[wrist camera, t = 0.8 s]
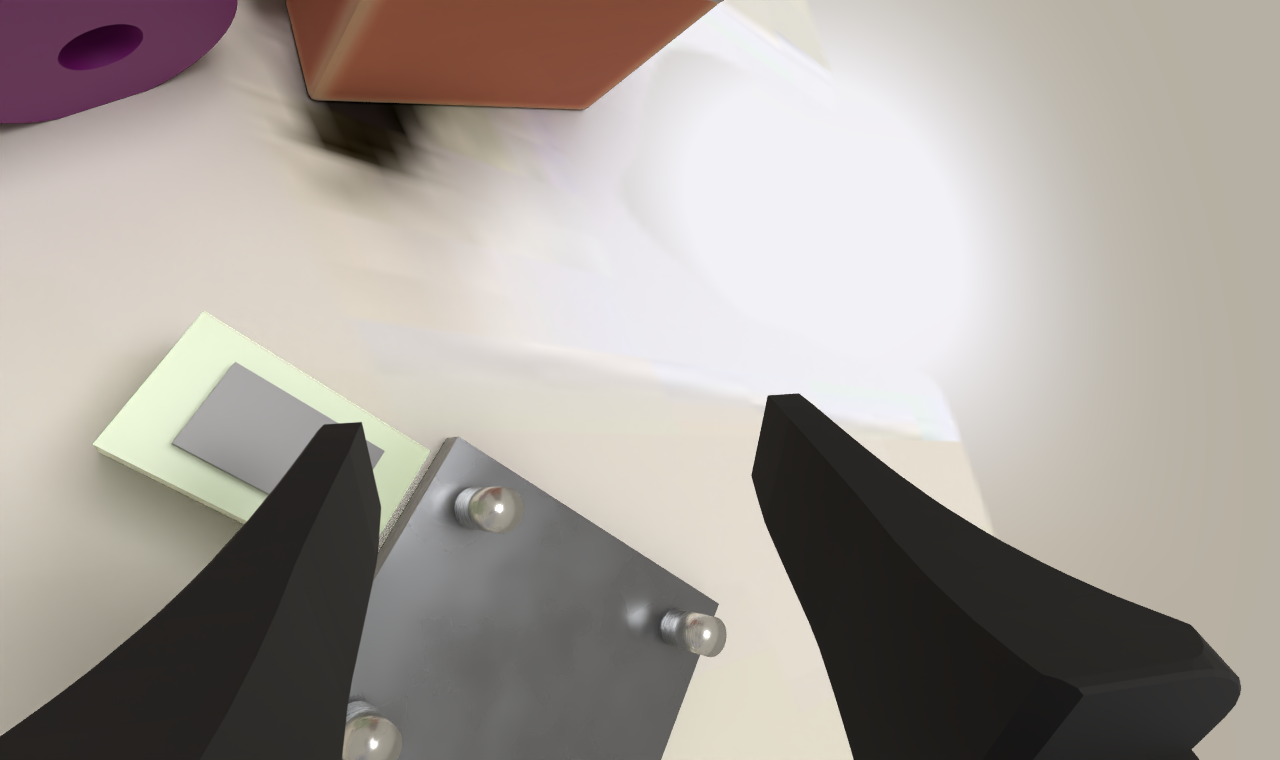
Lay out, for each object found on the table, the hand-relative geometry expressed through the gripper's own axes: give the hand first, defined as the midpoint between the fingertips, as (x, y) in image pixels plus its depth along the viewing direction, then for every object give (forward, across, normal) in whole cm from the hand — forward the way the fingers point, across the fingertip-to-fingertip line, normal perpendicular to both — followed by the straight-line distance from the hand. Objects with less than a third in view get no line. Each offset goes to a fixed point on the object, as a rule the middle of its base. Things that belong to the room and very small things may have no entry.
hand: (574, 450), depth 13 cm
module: (+10, +10, +8) cm, 16 cm away
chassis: (+7, +1, +18) cm, 19 cm away
